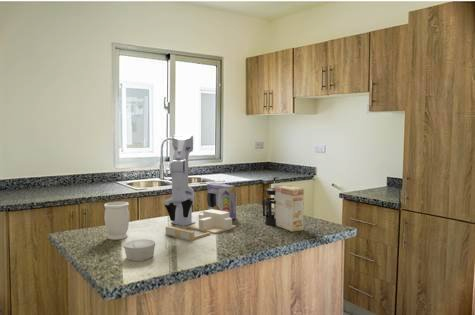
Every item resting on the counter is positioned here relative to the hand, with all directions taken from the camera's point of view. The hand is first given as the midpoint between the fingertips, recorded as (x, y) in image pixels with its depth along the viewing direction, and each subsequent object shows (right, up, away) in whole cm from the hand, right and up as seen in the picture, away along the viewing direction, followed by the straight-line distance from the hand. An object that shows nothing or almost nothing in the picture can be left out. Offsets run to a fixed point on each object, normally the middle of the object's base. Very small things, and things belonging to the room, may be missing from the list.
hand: (179, 218), depth 170 cm
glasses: (+3, -8, +5) cm, 10 cm away
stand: (+13, -7, +17) cm, 22 cm away
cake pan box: (+17, -5, +39) cm, 42 cm away
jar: (-27, -8, +1) cm, 28 cm away
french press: (+43, -6, +24) cm, 50 cm away
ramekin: (-11, -11, -25) cm, 29 cm away
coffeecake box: (+49, -7, +16) cm, 52 cm away
